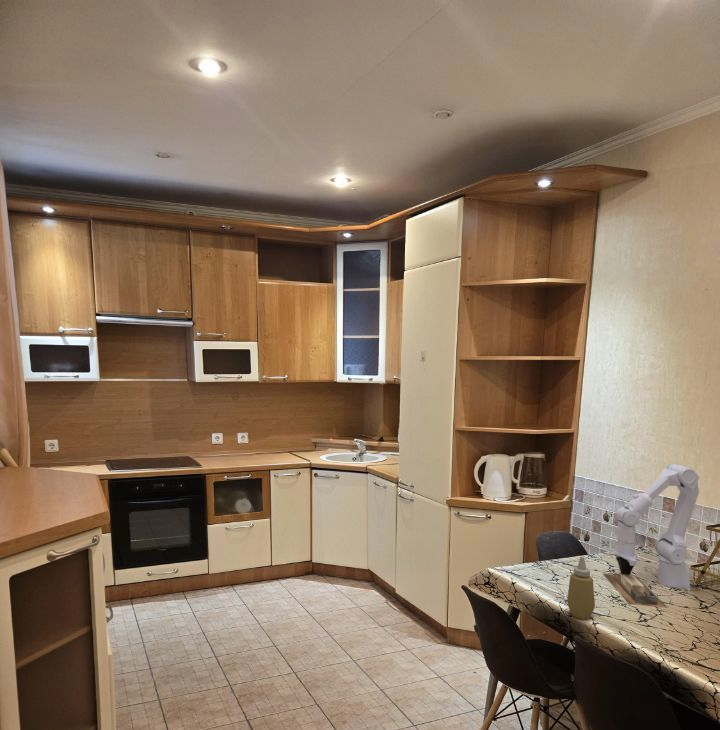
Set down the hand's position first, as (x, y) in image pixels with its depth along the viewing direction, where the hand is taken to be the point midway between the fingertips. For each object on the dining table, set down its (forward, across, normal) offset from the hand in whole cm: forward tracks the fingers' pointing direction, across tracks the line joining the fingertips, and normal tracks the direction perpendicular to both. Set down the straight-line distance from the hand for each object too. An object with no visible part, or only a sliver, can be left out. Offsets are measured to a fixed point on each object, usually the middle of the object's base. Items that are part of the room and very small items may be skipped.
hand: (625, 578), depth 186 cm
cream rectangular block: (+1, +6, 0) cm, 6 cm away
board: (+2, +7, 0) cm, 7 cm away
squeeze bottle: (+2, +30, -24) cm, 38 cm away
